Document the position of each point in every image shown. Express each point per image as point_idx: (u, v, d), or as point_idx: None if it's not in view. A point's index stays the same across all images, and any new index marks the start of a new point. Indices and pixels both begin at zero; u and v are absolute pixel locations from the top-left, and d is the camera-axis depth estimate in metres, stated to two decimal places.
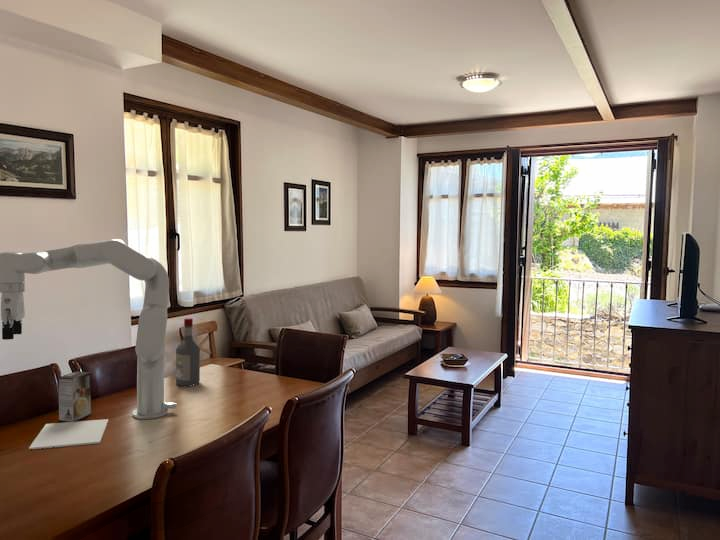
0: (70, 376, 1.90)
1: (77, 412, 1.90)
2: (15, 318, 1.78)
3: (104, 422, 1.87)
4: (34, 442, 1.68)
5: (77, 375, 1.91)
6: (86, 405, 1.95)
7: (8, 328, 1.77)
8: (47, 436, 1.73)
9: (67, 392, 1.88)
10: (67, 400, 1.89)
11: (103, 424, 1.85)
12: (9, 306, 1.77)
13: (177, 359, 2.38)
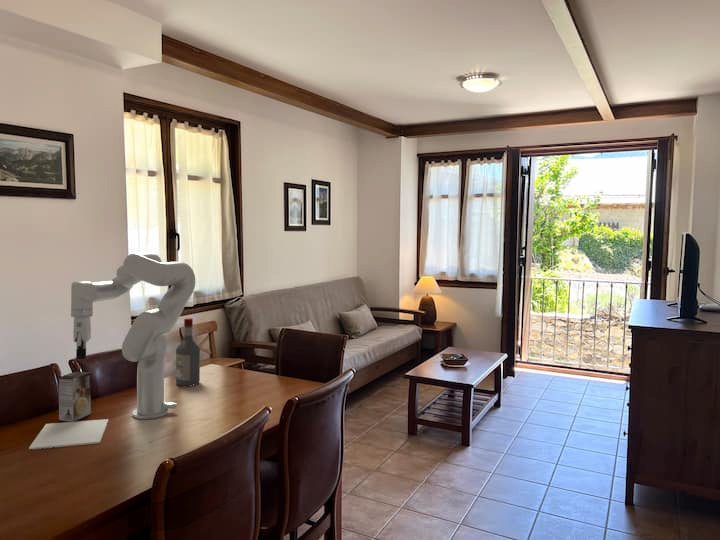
0: (70, 376, 1.90)
1: (77, 412, 1.90)
2: (85, 340, 2.02)
3: (104, 422, 1.87)
4: (34, 442, 1.68)
5: (77, 375, 1.91)
6: (86, 405, 1.95)
7: None
8: (47, 436, 1.73)
9: (67, 392, 1.88)
10: (67, 400, 1.89)
11: (103, 424, 1.85)
12: (81, 329, 2.01)
13: (177, 359, 2.38)
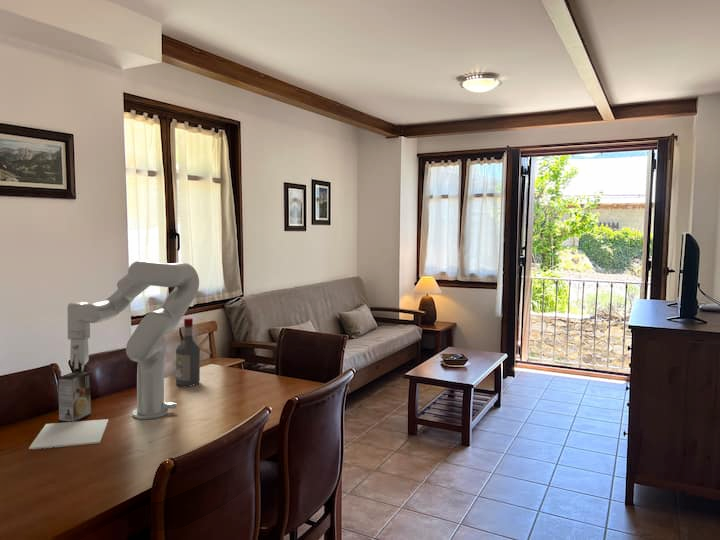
0: (70, 376, 1.90)
1: (77, 411, 1.90)
2: (83, 363, 1.96)
3: (104, 422, 1.87)
4: (34, 442, 1.68)
5: (77, 375, 1.91)
6: (86, 405, 1.95)
7: None
8: (47, 436, 1.73)
9: (67, 392, 1.88)
10: (67, 400, 1.88)
11: (103, 424, 1.85)
12: (78, 352, 1.95)
13: (177, 359, 2.38)
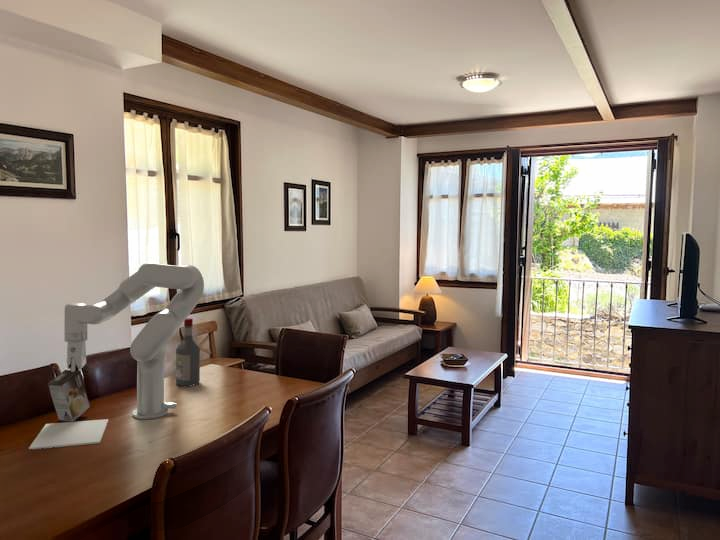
0: (59, 381, 1.84)
1: (75, 411, 1.89)
2: (80, 366, 1.91)
3: (104, 422, 1.87)
4: (34, 442, 1.68)
5: (66, 378, 1.86)
6: (83, 401, 1.93)
7: None
8: (47, 436, 1.73)
9: (60, 397, 1.85)
10: (62, 404, 1.86)
11: (103, 424, 1.85)
12: (75, 355, 1.90)
13: (177, 359, 2.38)
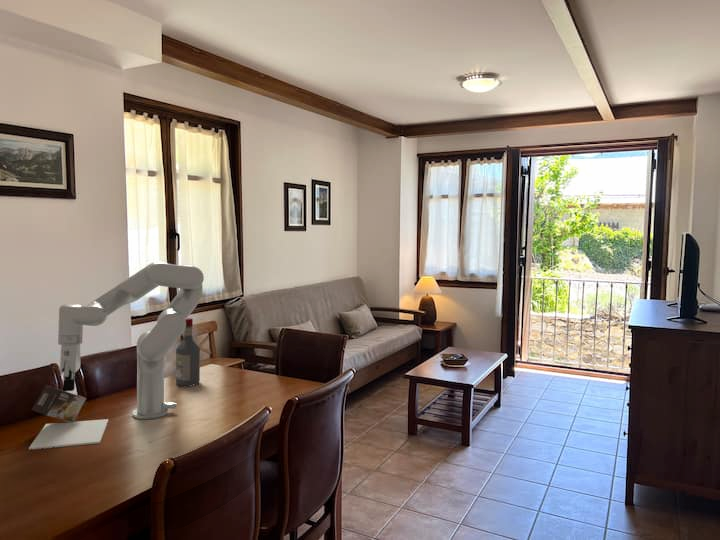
0: (42, 407, 1.75)
1: (71, 415, 1.86)
2: (73, 370, 1.82)
3: (104, 422, 1.87)
4: (34, 442, 1.68)
5: (49, 403, 1.75)
6: (77, 402, 1.87)
7: None
8: (47, 436, 1.73)
9: None
10: None
11: (103, 424, 1.85)
12: (68, 358, 1.81)
13: (177, 359, 2.38)
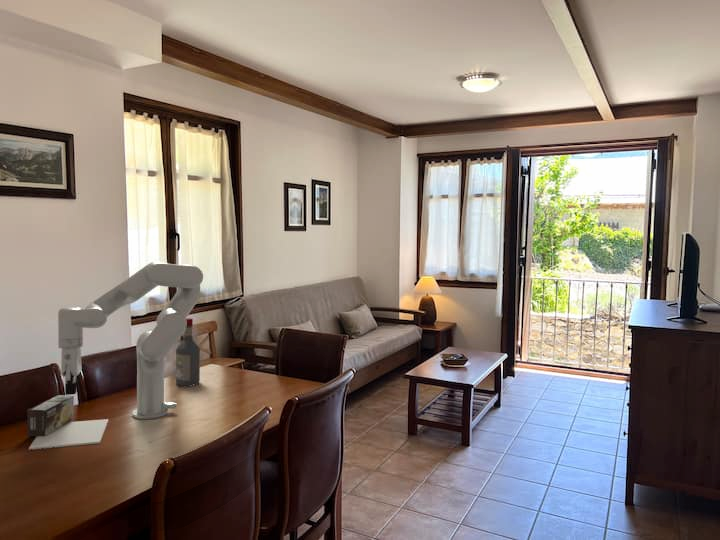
0: (37, 430, 1.73)
1: (68, 417, 1.85)
2: (75, 373, 1.81)
3: (104, 422, 1.87)
4: (34, 442, 1.68)
5: (41, 425, 1.72)
6: (67, 405, 1.84)
7: None
8: (47, 436, 1.73)
9: None
10: None
11: (103, 424, 1.85)
12: (69, 362, 1.80)
13: (177, 359, 2.38)
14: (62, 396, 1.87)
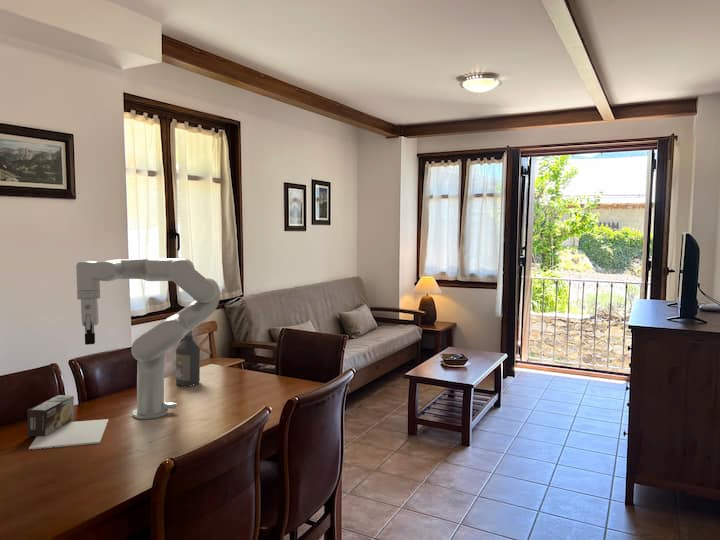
0: (37, 430, 1.73)
1: (68, 417, 1.85)
2: (95, 323, 1.90)
3: (104, 422, 1.87)
4: (34, 442, 1.68)
5: (41, 425, 1.72)
6: (67, 405, 1.84)
7: None
8: (47, 436, 1.73)
9: None
10: None
11: (103, 424, 1.85)
12: (89, 312, 1.89)
13: (177, 359, 2.38)
14: (62, 396, 1.87)
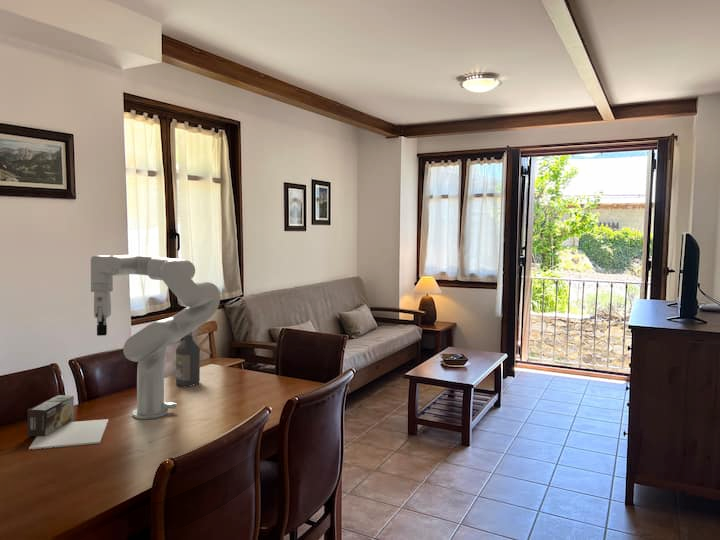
0: (37, 430, 1.73)
1: (68, 417, 1.85)
2: (106, 315, 1.97)
3: (104, 422, 1.87)
4: (34, 442, 1.68)
5: (41, 425, 1.72)
6: (67, 405, 1.84)
7: None
8: (47, 436, 1.73)
9: None
10: None
11: (103, 424, 1.85)
12: (101, 304, 1.96)
13: (177, 359, 2.38)
14: (62, 396, 1.87)
